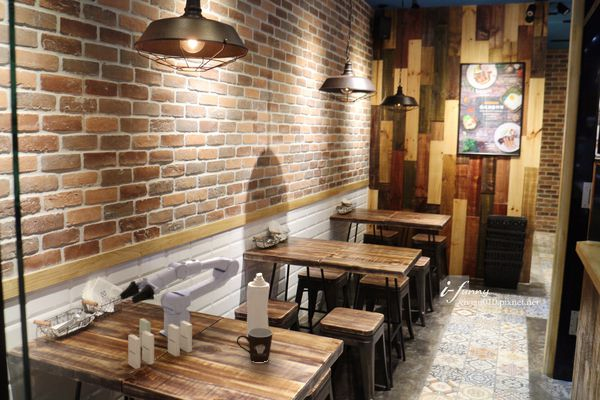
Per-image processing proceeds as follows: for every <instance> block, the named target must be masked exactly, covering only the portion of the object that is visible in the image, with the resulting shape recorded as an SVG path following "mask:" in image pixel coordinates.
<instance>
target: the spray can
mask: <svg viewBox="0 0 600 400" xmlns="http://www.w3.org/2000/svg"><path fill="white" fill-rule="evenodd" d="M255 275H256V276H255V277H254V278H253V281H250V282H248V284H247V287H246V307H247V308H246V309H247V316H246V336H247V337H248V331H249V330H250V329H253V328H267V329H270V328H269V327H270V326H269V317H268V314H269V313H268V309H269V308H268V307H269V306H268V305H269V294H270V289H271V288H270V287H271V286H270V283H268V282H267V281H265V278H264V277H263V273H261V272H259V273H256V274H255Z"/></svg>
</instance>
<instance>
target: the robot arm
mask: <svg viewBox="0 0 600 400" xmlns="http://www.w3.org/2000/svg"><path fill="white" fill-rule="evenodd" d="M210 269H213V270H212V276H211V277H209V278H207V279H205V280H202V281H200V282H197V283H196V284H193V285H191V286H189V287H187V288H184V289H178V290H173V291H169V290H168V291H165V292H164V293H163V294H162V295H161V297H160V300H159V303H160V305H161V306H162V308H163V313H164V314H163V329H161V330H160V331H159V334H162V335H163V336H165V337H166V338H168V325H169V324H173V325H175V326H177V327H179V328H180V322H181V321H186V322H188V323H190V324H191V315H190V312H189V310H188V309H187V308H189V307H191V304H192V302H193V301H196V300H197V299H199V298H202V297H204V296H205V295H208V294H210V293H212V292H214V291H216V290H218V289H220V288H222V287H223V286H225V285H226V284H227V283H228V282H229V281H230V280H231V279H232V278H233V277H236V276H237V275H238V272H239V269H240V262H239V261H238V260H237V259H232V258H228V257H224V256H223V255H222V256H215V257H213V258H209V259H205V260H202V261H200V260H198V259H196V258H191V259H190V260H188V261H185V260H182V261H181V262H180V263H179V262H176V261H175V262H170V263H169V264H168V266H167V267H166V268H165V269H163V270H161V271H160V272H159V271H158V272H157V273H156V274H154V275H151V276H150V277H146V276H144V277H142V280H140V281H135V280H132V281H130V283H129V285H128V286H127V287H126V288H125V289H124V290H123V291H122V292H121V293H120V294H119V296H120V299H121V300H122V301H123V300H126V299H129V298H131V302H132V304H137V303H141V302H144V301H149V300H151V301H153V300H155V296H157V295H159V294H160V293H161V290H162V289H163V288H165V287H167V286H168V285H170V284H172V283H174V282H175V281H177V280H186V278H187V277H190V276H195V275H199V274H201V273H202V271H203V270H210Z"/></svg>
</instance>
